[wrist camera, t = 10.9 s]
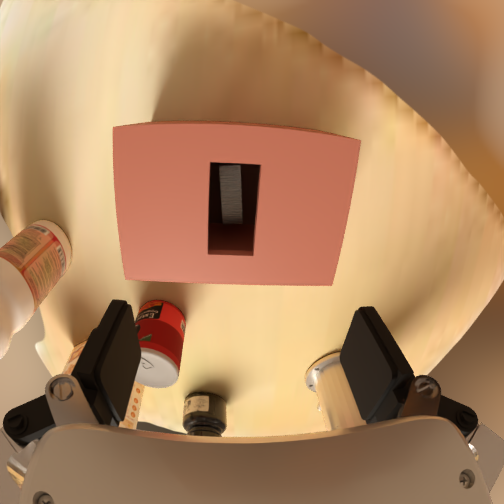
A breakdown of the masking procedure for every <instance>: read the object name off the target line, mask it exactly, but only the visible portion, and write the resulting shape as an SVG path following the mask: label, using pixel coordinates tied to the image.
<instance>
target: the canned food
mask: <svg viewBox="0 0 504 504" xmlns="http://www.w3.org/2000/svg"><path fill="white" fill-rule="evenodd" d="M135 326H136V331H137V335H138V339H139V344H140V348H141V360H140V364H139V367H138V371H137V374H136V378H135V381H136V382H138V383H140V384H142V385H145V386H148V387H153V388H166V387H169V386H172V385H173V384H175V383H176V381H177V379H178V376H179V370H180V363H181V356H182V349H183V342H184V335H185V328H186V323H185V319H184V316H183V314H182V312H181V311H180V310H179V309H178V308H177V307H176V306H174V305H173V304H171V303H169V302H166V301H162V300H153V301H150V302H147V303H146V304H145V305H144V306H143V307H142V308H141V309H140V310H139V312H138V315H137V318H136V320H135Z"/></svg>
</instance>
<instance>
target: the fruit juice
mask: <svg viewBox="0 0 504 504" xmlns="http://www.w3.org/2000/svg"><path fill="white" fill-rule="evenodd" d="M71 256H72V253H71V246H70V243H69V240H68V238H67V236H66V235H65V233H64V232H63V231H62V229H61V228H60V227H59V226H57V225H56V224H55V223H53V222H51V221H48V220H39V221H36V222H34V223H32V224H30V225H29V226H28V227H26V228H25V229H24V230H23V231H21V232H20V233H19V234H17V235H16V236H15V237H14V238H12V239H11V240H10V241H9V242H8V243H6V244H5V245H4V246H3V247H1V248H0V359H1V358H2V357H3V356H4V355H5V353H6V352H7V350H8V348H9V346H10V343H11V339H12V336H13V334H14V333H16V332H18V331H19V330H21V329H22V328H23V327H24V326H25V324H26V323H27V322H28V321H29V319H30V318H31V317H32V315H33V314H34V312H35V311H36V309H37V308H38V307H39V305H40V304H41V303H42V301H43V300H44V299H45V297H46V296H47V295H48V293H49V292H50V291H51V289H52V288H53V287H54V286H55V284H56V283H57V282H58V281H59V279H60V278H61V277H62V276H63V274H64V273H65V272H66V270H67V269H68V267H69V265H70V262H71Z"/></svg>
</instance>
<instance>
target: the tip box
mask: <svg viewBox="0 0 504 504" xmlns="http://www.w3.org/2000/svg"><path fill="white" fill-rule="evenodd" d="M360 143H361V140H357V139H353V138H349V137H345V136H341V135H337V134H332V133H328V132H323V131H318V130H312V129H304V128H296V127H288V126H279V125H268V124H256V123H241V122H221V121H158V122H145V123H137V124H130V125H123V126H117V127H113V169H114V188H115V202H116V213H117V223H118V232H119V240H120V248H121V255H122V262H123V268H124V274H125V279H126V280H143V281H161V282H183V283H208V284H240V285H296V286H332V284H333V280H334V276H335V272H336V268H337V264H338V260H339V256H340V251H341V247H342V243H343V238H344V233H345V229H346V224H347V219H348V214H349V209H350V204H351V199H352V193H353V188H354V182H355V176H356V170H357V164H358V157H359V150H360ZM220 162H222V163H240V167H241V194H242V219H243V224H226V225H223V218H222V203H221V187H220V170H219V165H220Z"/></svg>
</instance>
